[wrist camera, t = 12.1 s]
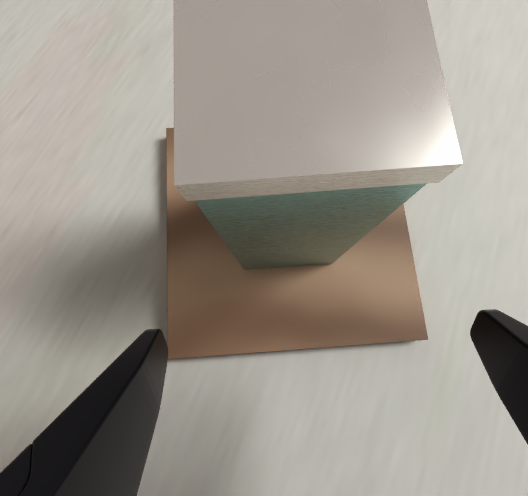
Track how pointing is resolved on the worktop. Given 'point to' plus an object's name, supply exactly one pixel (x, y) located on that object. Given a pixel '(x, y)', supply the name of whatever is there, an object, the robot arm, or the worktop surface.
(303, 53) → the tea tin
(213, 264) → the walnut board
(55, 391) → the worktop surface
